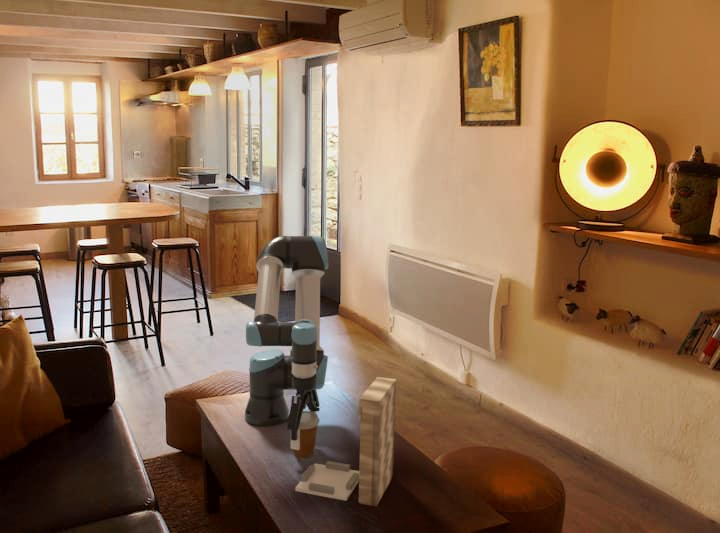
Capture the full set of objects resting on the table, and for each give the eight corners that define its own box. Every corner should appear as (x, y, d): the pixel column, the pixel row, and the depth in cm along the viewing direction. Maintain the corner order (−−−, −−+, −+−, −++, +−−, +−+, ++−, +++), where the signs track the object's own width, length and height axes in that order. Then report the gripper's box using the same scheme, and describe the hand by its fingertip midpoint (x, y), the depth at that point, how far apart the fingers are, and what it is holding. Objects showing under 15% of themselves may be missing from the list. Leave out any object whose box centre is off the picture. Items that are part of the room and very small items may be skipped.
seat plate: (315, 466, 205) (315, 458, 204) (362, 474, 200) (363, 467, 200) (295, 491, 191) (295, 482, 190) (346, 500, 186) (346, 492, 186)
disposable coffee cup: (314, 461, 208) (314, 424, 205) (284, 458, 210) (284, 421, 207) (322, 447, 217) (322, 412, 215) (293, 444, 219) (293, 409, 216)
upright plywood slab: (374, 473, 201) (377, 376, 195) (392, 476, 200) (396, 379, 194) (356, 502, 186) (359, 398, 180) (376, 506, 184) (379, 401, 178)
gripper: (299, 389, 195) (299, 459, 199) (329, 363, 219) (329, 425, 223) (275, 386, 198) (275, 455, 202) (308, 360, 221) (307, 422, 225)
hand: (303, 439), depth 212 cm, fingers open, 13 cm apart
